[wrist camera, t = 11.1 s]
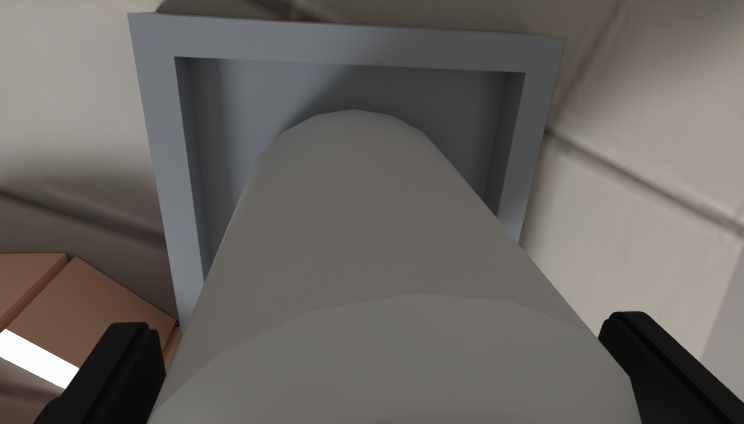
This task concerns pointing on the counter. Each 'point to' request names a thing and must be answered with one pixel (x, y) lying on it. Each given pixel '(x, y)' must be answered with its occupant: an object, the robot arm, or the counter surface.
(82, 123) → the counter surface
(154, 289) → the counter surface
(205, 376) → the can
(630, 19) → the counter surface
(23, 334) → the terracotta ring
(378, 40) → the slate tray
